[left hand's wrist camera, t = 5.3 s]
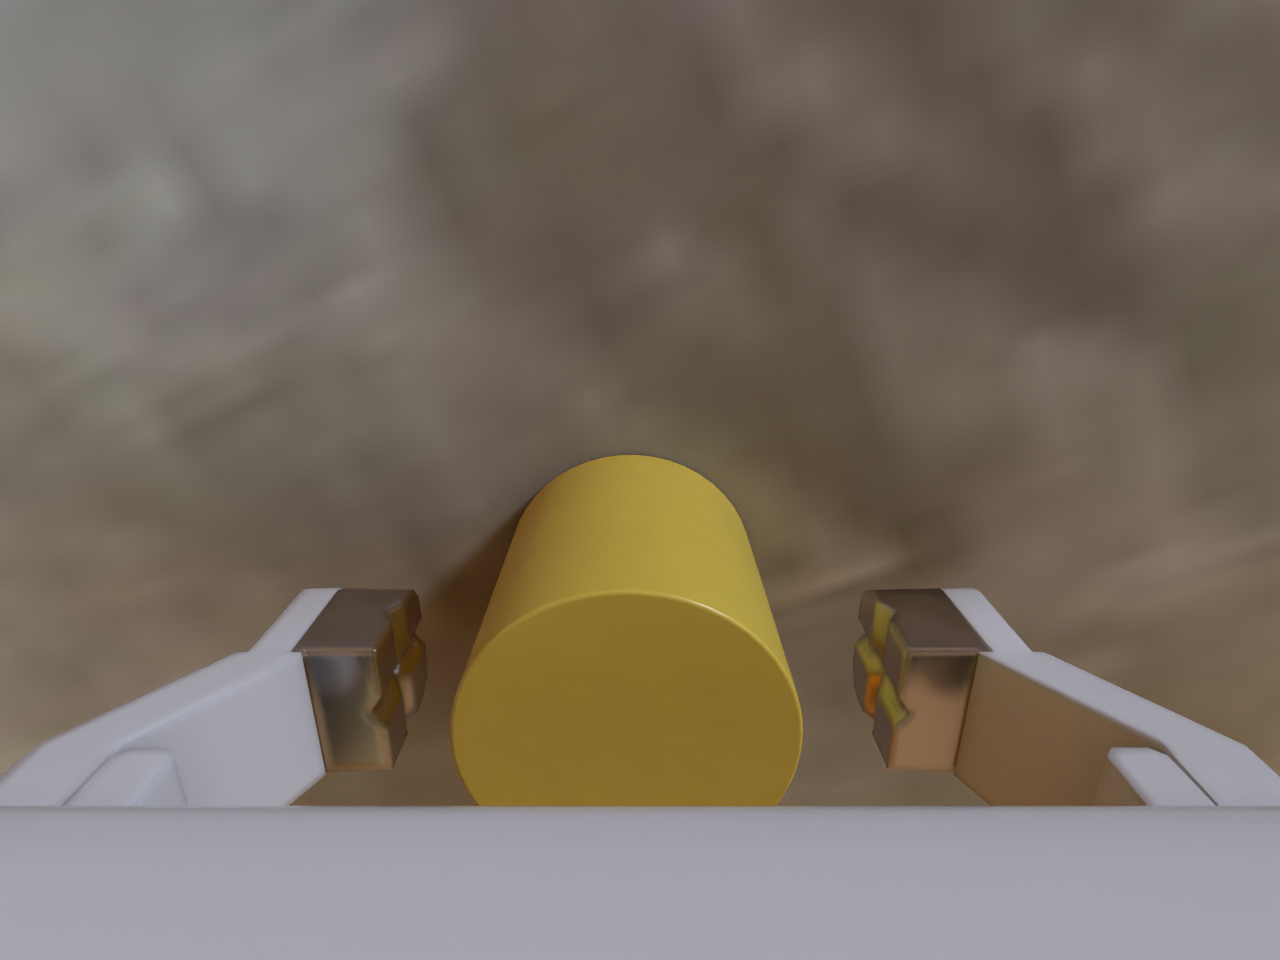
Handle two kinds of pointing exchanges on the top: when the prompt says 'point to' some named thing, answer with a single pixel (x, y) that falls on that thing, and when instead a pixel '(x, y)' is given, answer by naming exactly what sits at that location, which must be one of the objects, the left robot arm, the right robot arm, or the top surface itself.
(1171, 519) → the top surface
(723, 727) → the can
